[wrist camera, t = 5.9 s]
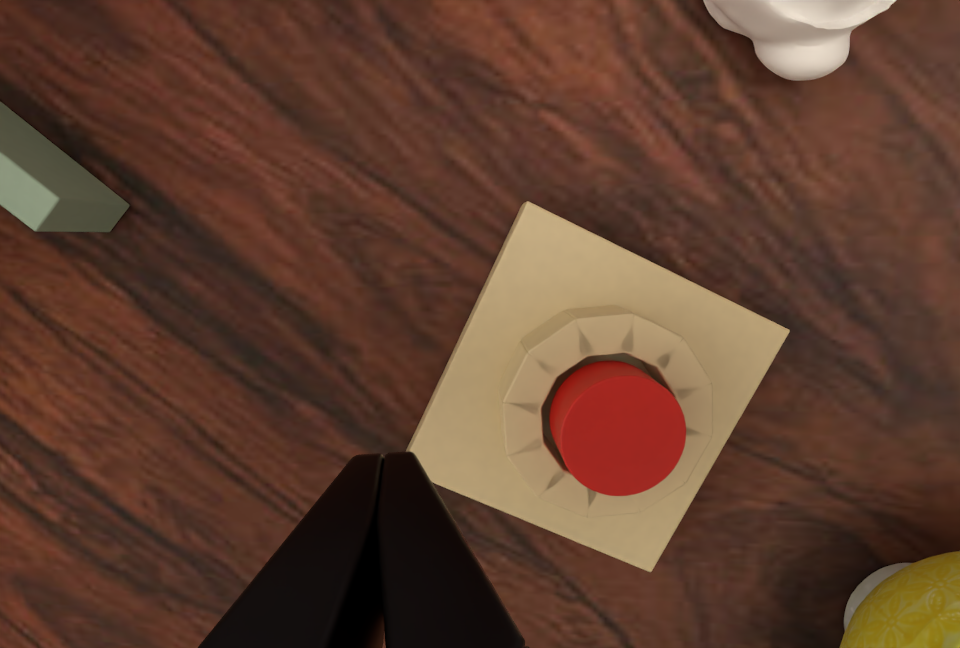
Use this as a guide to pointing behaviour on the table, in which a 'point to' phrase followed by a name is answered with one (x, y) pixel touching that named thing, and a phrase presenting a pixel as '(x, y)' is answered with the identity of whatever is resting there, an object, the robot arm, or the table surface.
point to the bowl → (907, 606)
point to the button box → (566, 348)
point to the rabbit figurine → (797, 31)
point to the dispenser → (50, 183)
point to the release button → (617, 428)
